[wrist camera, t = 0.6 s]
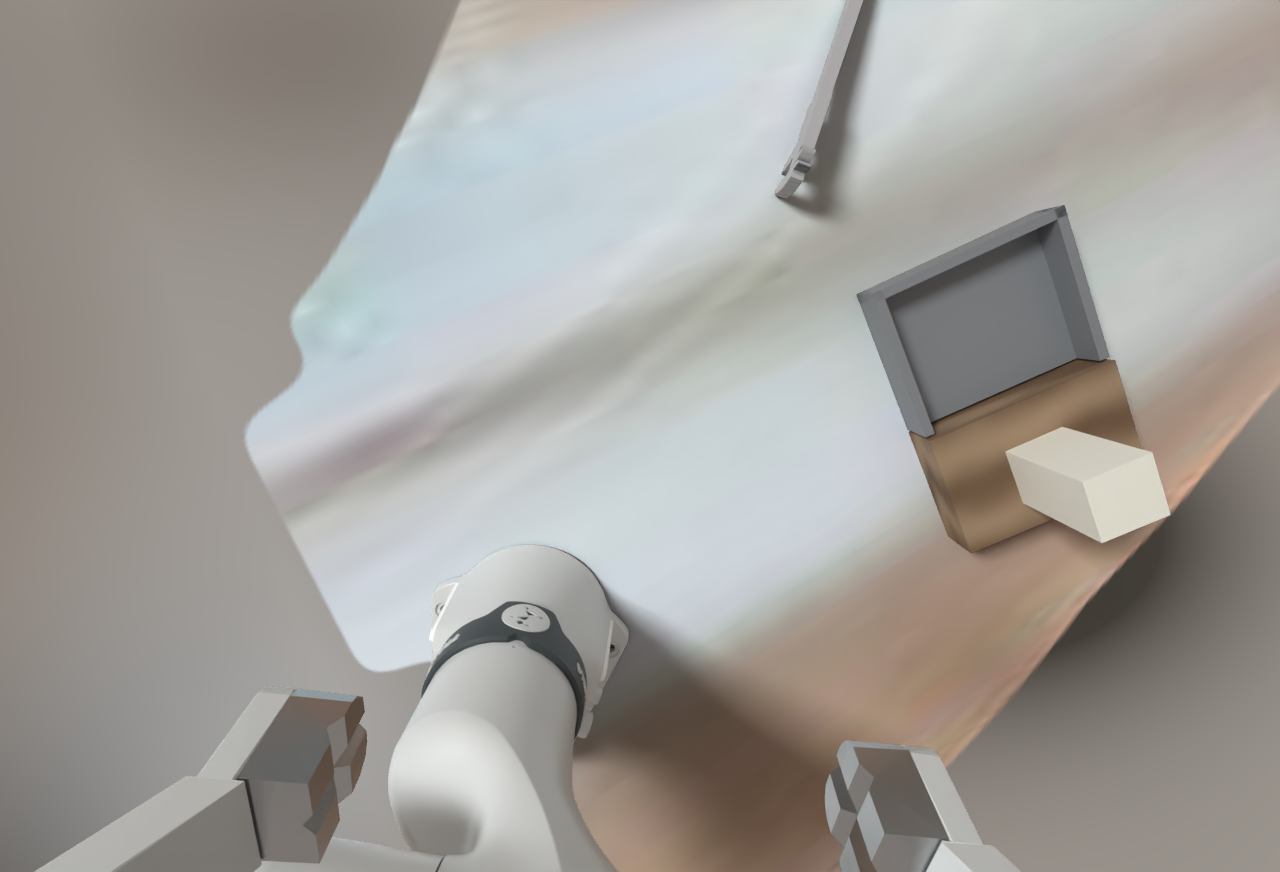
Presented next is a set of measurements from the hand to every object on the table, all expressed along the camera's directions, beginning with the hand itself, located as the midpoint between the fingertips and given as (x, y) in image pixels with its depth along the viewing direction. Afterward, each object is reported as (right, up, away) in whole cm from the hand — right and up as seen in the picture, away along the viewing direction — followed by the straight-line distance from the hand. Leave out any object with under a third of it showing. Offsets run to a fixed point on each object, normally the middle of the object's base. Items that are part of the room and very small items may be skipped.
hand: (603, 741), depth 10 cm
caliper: (+15, +34, +39) cm, 54 cm away
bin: (+29, +15, +42) cm, 54 cm away
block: (+35, +3, +41) cm, 54 cm away
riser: (+34, +4, +45) cm, 57 cm away
